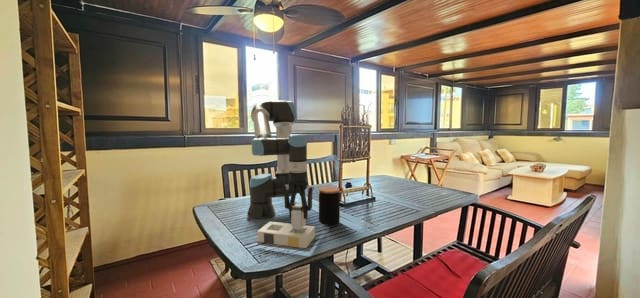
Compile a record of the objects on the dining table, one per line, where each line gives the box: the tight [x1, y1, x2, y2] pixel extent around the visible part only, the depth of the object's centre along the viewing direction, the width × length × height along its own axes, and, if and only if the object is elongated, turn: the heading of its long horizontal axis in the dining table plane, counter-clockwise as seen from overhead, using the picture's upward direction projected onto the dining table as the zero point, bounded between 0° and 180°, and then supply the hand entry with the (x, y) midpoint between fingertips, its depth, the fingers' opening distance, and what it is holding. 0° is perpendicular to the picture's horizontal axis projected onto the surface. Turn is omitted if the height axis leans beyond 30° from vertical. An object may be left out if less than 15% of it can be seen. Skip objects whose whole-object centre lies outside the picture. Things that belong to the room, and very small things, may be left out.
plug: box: [292, 202, 303, 230], centre depth 117 cm, size 4×4×10 cm
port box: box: [256, 221, 316, 253], centre depth 120 cm, size 22×12×6 cm, turn 73°
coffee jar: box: [318, 186, 341, 227], centre depth 142 cm, size 11×11×18 cm
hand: (298, 225), depth 118 cm, fingers closed on plug, 4 cm apart
